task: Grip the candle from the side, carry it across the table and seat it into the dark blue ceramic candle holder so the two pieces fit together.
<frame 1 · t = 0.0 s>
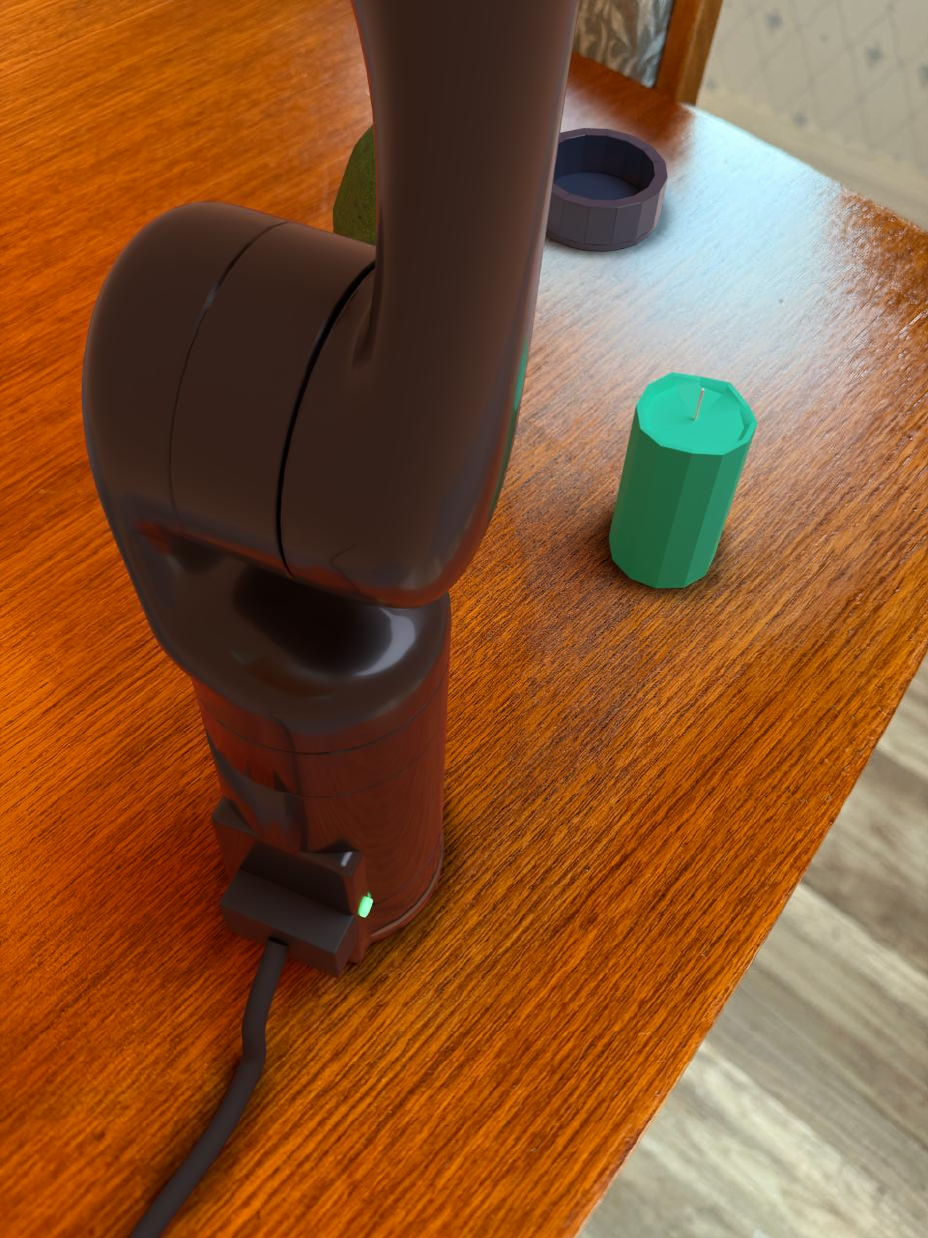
avocado: (396, 290, 80), on the table
candle: (660, 549, 68), on the table
holder: (593, 209, 86), on the table
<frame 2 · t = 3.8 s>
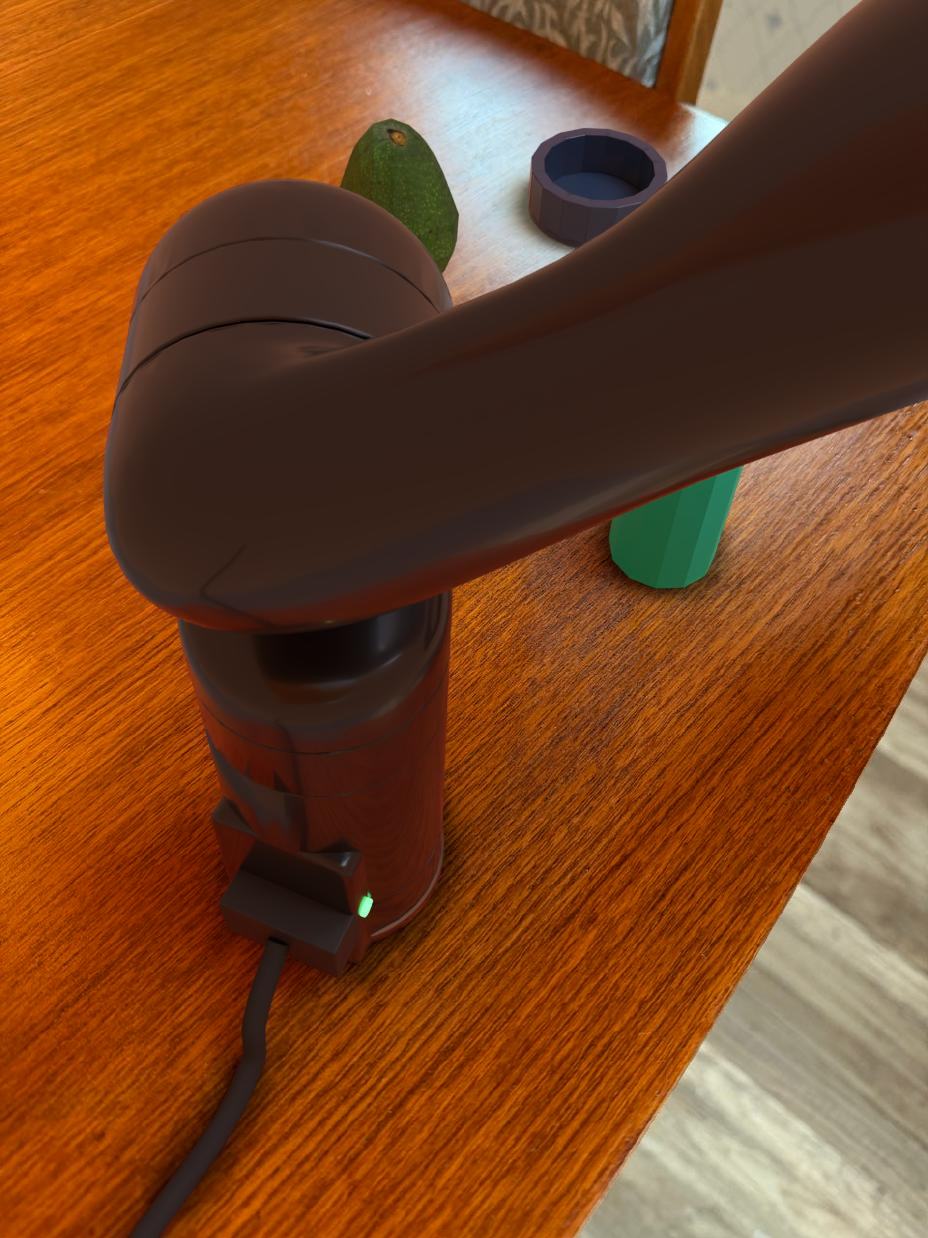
nothing on the table moved.
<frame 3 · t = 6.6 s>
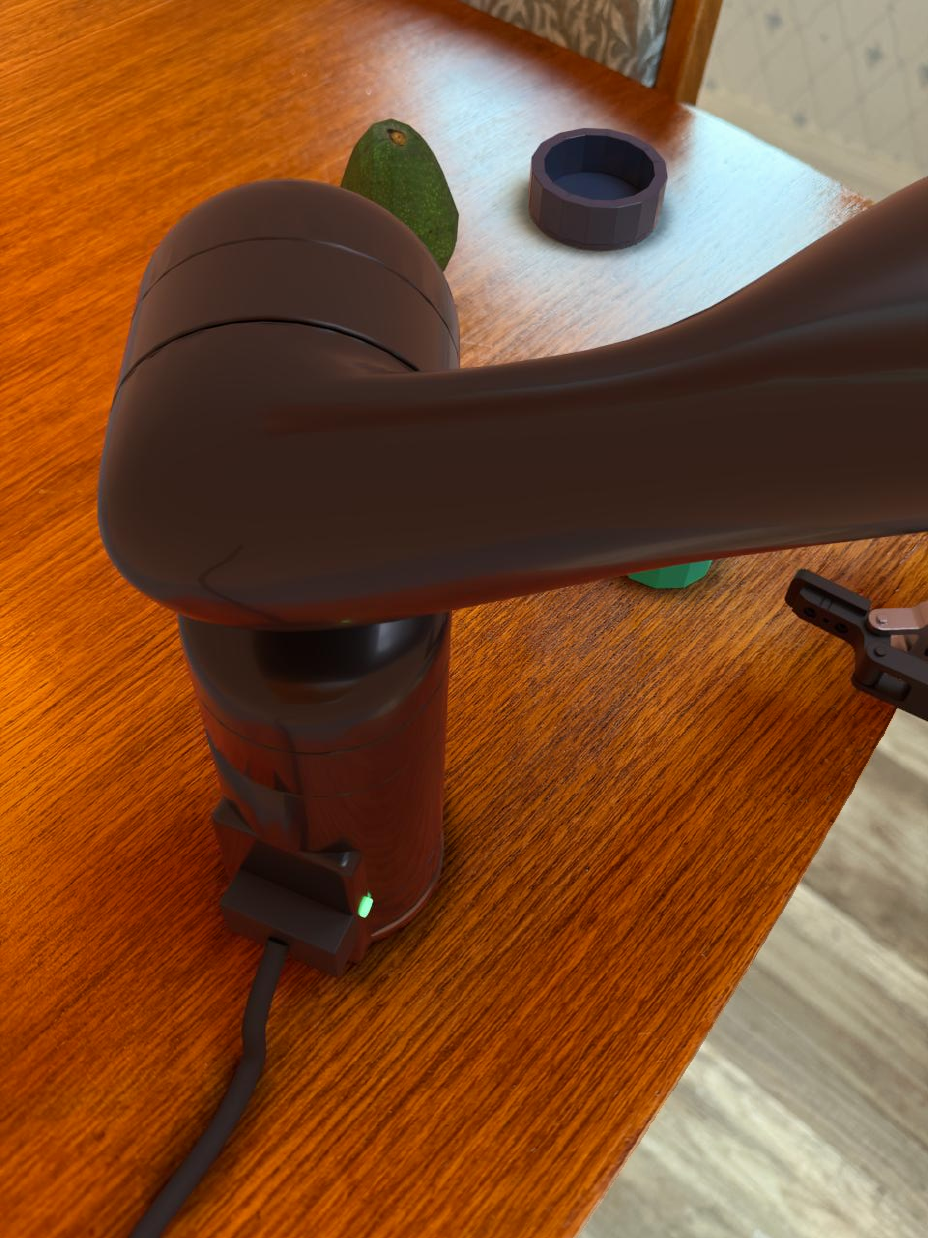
hand: (826, 529, 60), 7 cm above the table, tool horizontal, fingers open, 8 cm apart
nothing on the table moved.
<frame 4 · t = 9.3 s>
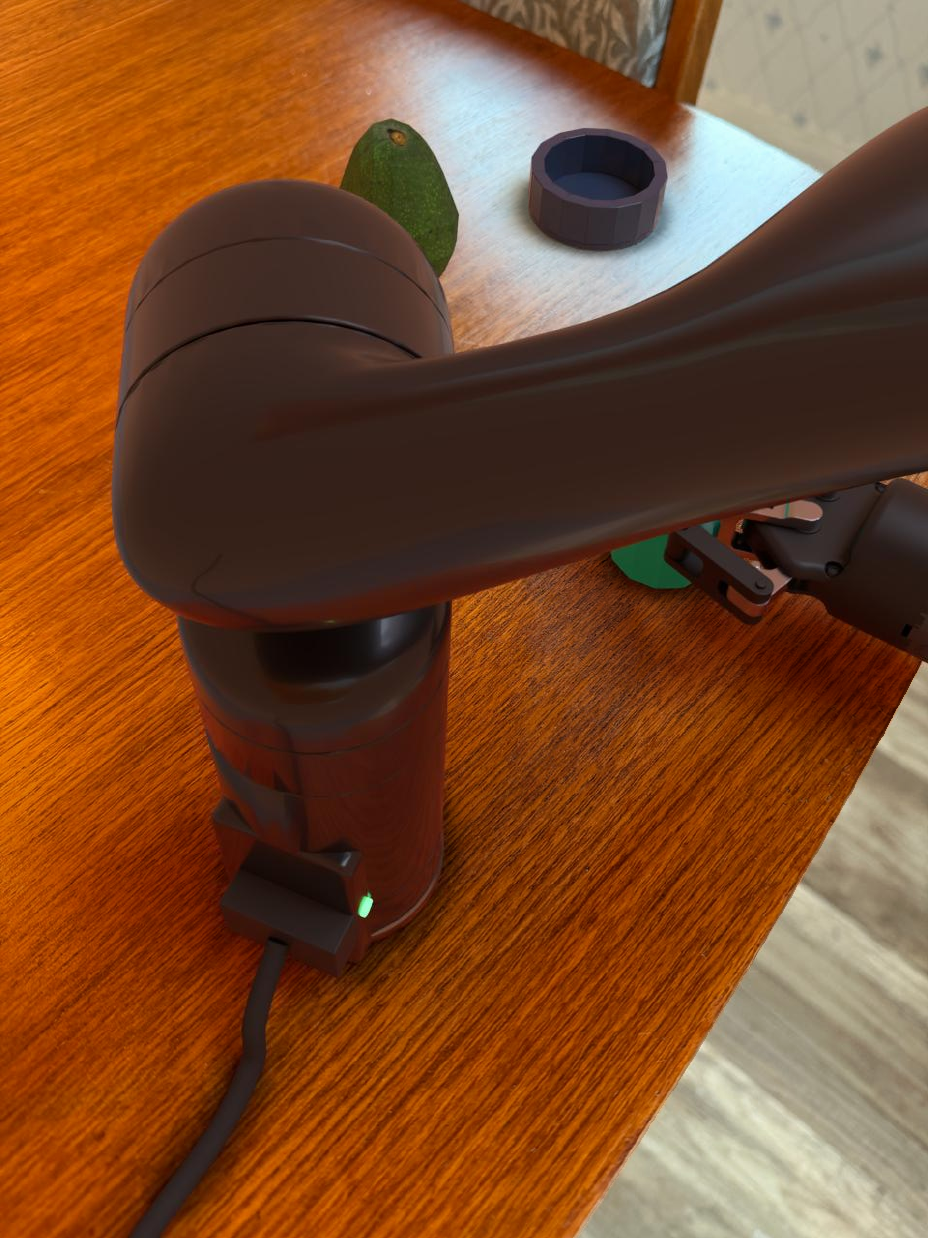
hand: (638, 440, 63), 7 cm above the table, tool horizontal, fingers closed on candle, 4 cm apart
candle: (660, 549, 68), on the table, touching gripper
everything else where it was.
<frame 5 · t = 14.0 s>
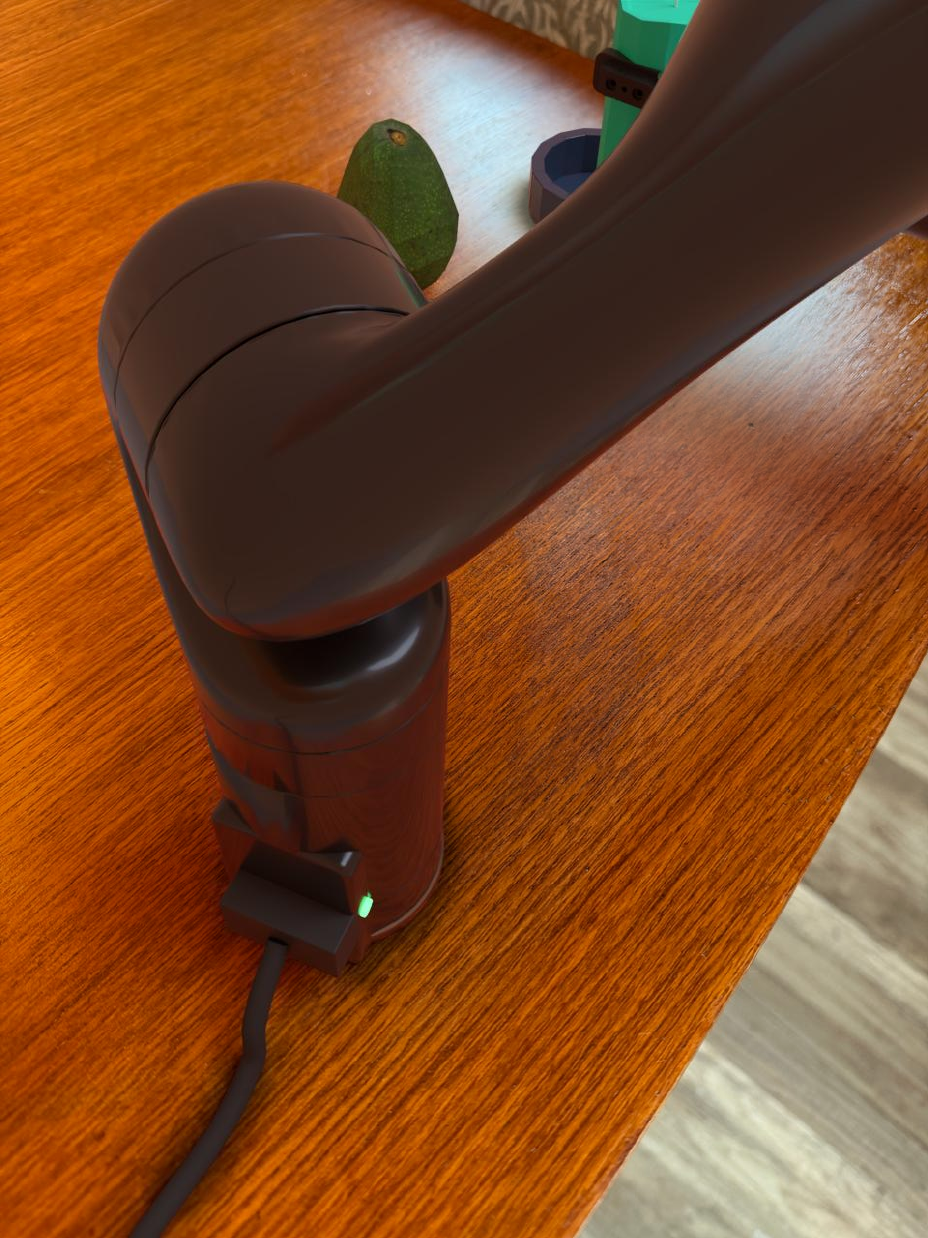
hand: (623, 46, 65), 18 cm above the table, tool horizontal, fingers closed on candle, 4 cm apart
candle: (646, 180, 70), point 10 cm above the table, touching gripper
everything else where it was.
when the fingers open (8 cm above the table, at t = 18.8 s): candle stays where it is, resting on holder.
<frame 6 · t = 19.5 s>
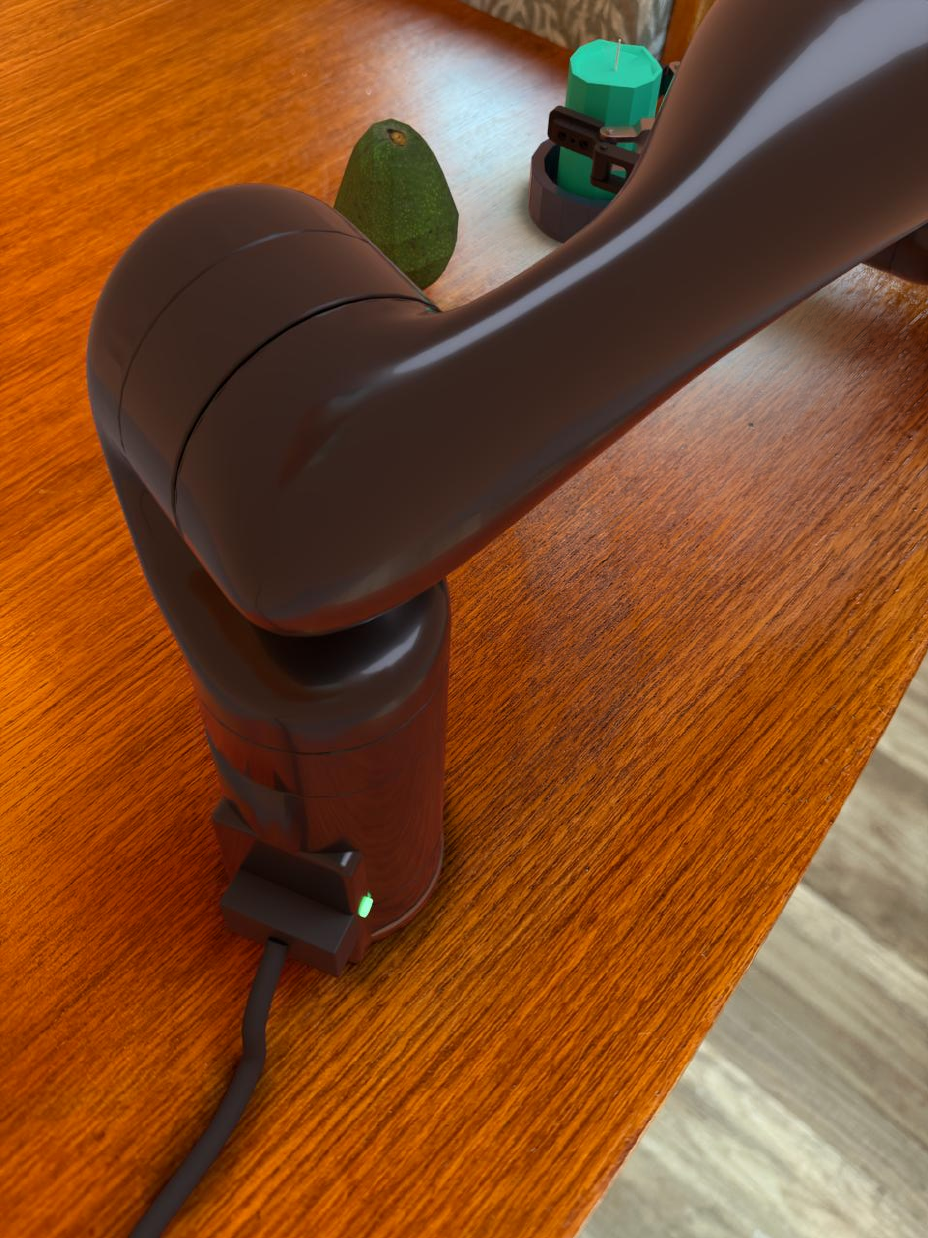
hand: (583, 92, 80), 8 cm above the table, tool horizontal, fingers open, 8 cm apart
candle: (596, 206, 86), resting on holder
everything else where it was.
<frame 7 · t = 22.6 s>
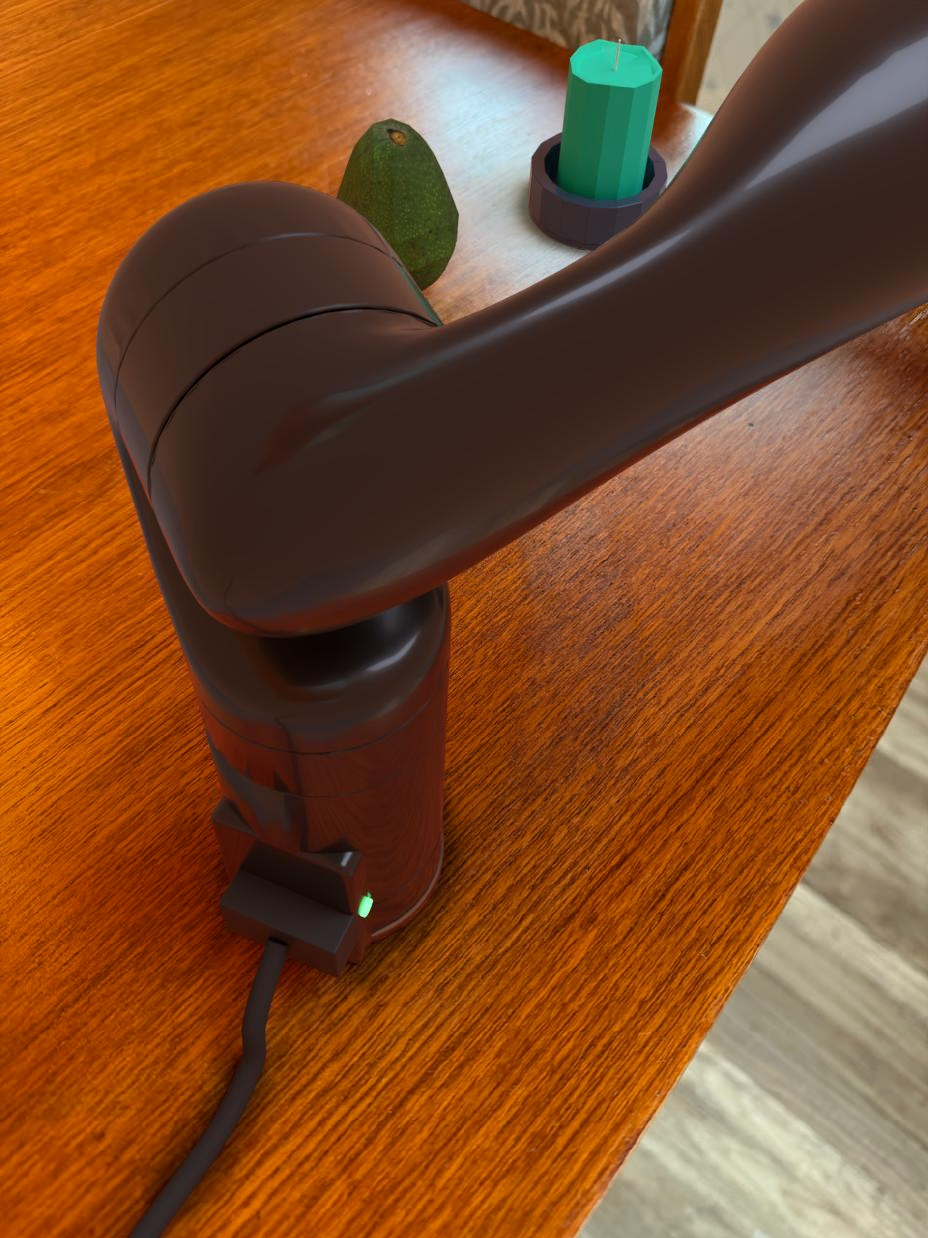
hand: (774, 98, 73), 12 cm above the table, tool horizontal, fingers open, 8 cm apart
nothing on the table moved.
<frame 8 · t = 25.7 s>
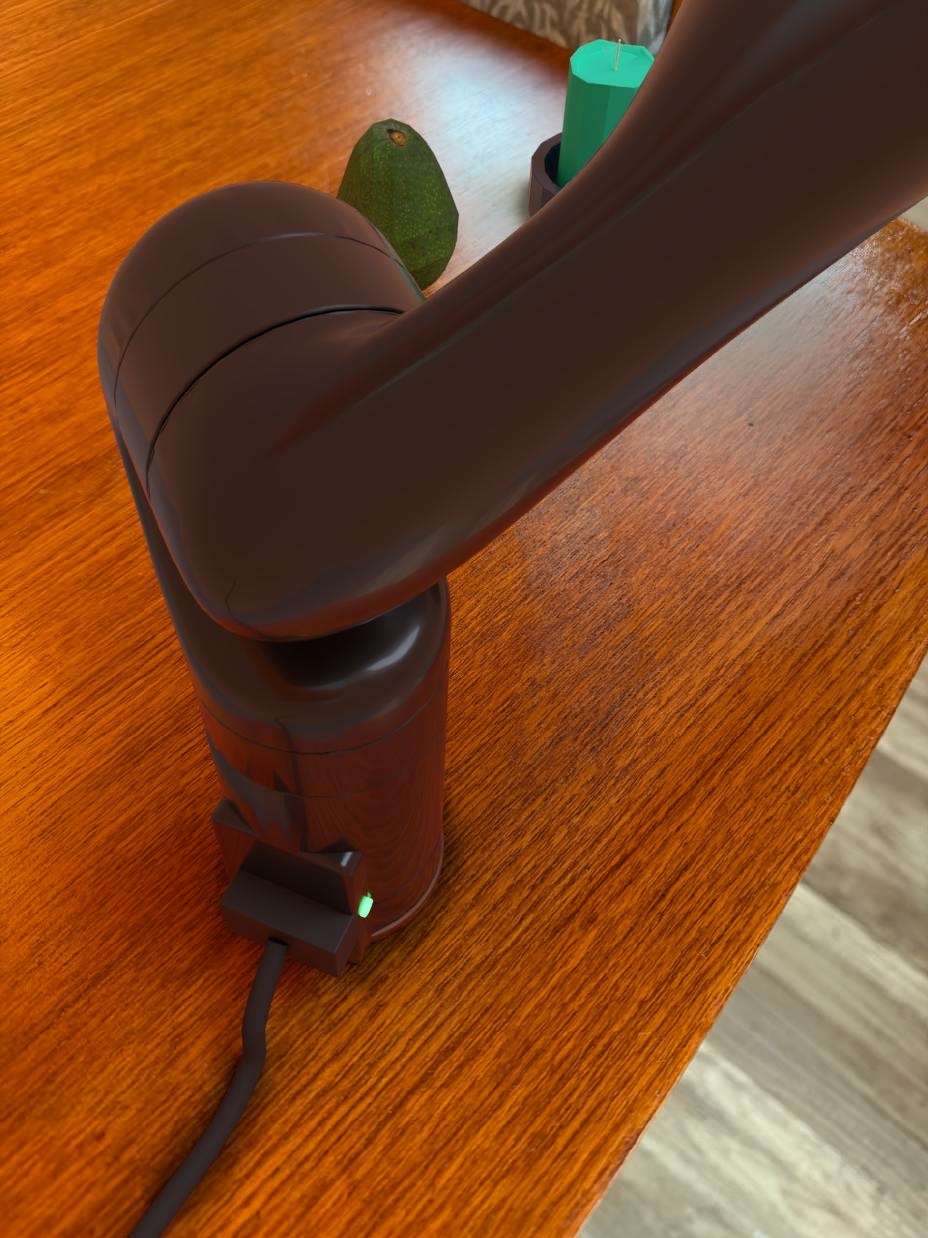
nothing on the table moved.
at the end: candle 0.2 cm off-centre in the holder, point 0.3 cm above the holder's base; candle tilted 0°; the gripper is holding nothing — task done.
